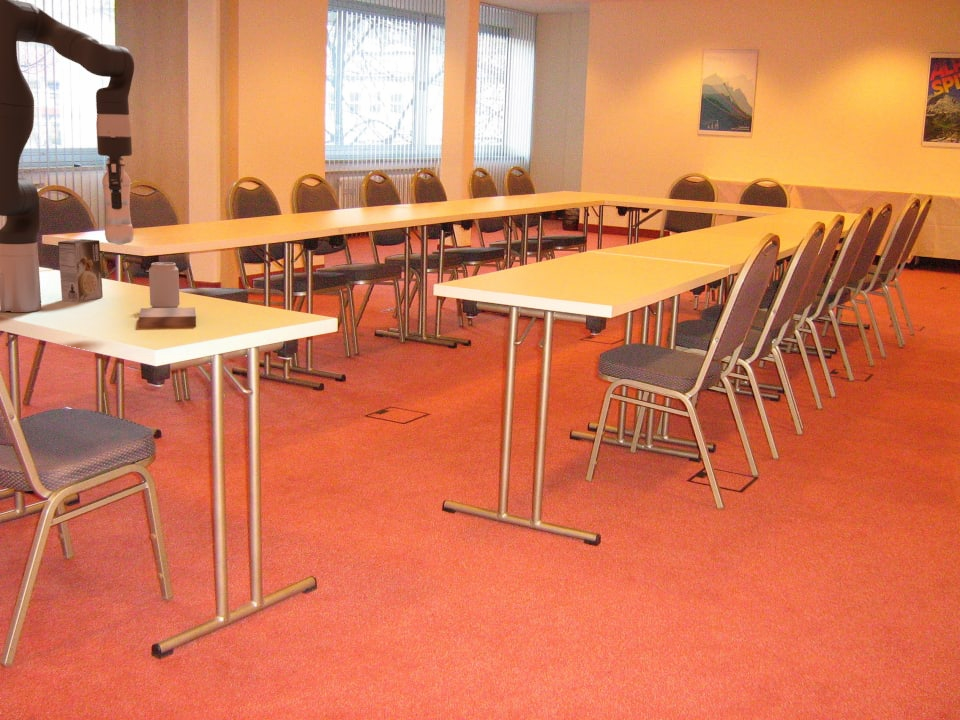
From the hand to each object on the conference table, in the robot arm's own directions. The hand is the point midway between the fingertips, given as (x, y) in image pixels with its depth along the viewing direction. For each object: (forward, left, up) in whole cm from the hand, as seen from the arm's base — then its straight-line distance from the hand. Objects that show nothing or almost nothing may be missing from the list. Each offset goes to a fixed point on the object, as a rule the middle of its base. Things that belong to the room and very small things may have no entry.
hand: (117, 207), depth 235 cm
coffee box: (-13, +41, -28) cm, 51 cm away
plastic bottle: (0, 0, -9) cm, 9 cm away
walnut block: (+10, +2, -28) cm, 30 cm away
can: (+9, +24, -28) cm, 38 cm away
